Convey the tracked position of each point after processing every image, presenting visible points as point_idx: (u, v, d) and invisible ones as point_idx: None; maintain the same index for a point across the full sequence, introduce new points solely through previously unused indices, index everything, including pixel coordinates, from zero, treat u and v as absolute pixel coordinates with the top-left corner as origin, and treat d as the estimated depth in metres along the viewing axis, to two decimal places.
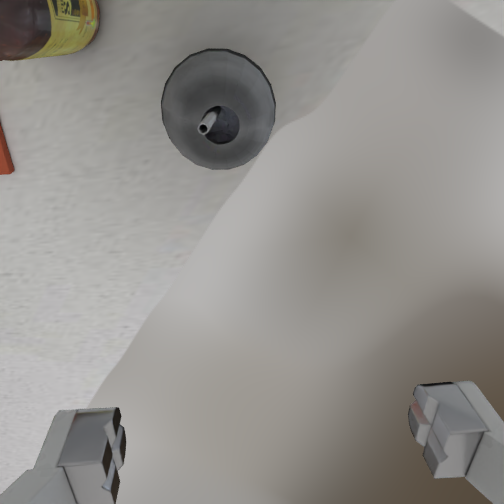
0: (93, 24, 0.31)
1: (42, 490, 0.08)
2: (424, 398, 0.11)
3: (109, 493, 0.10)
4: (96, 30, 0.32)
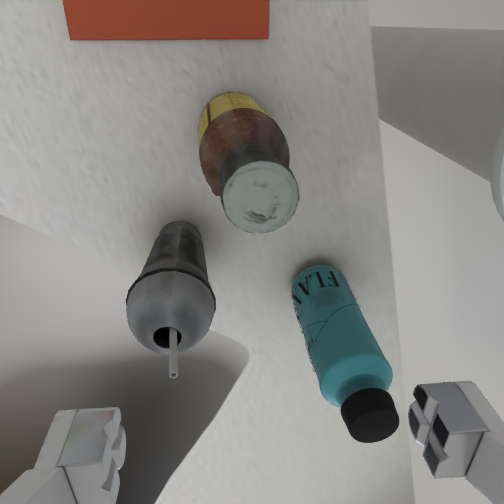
0: None
1: (41, 490, 0.08)
2: (424, 398, 0.11)
3: (109, 493, 0.10)
4: None
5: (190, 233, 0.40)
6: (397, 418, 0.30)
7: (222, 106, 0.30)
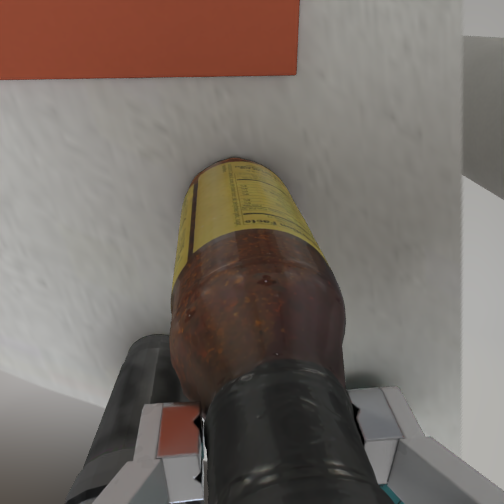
0: None
1: (146, 481, 0.09)
2: None
3: (201, 485, 0.10)
4: None
5: None
6: None
7: (216, 210, 0.16)
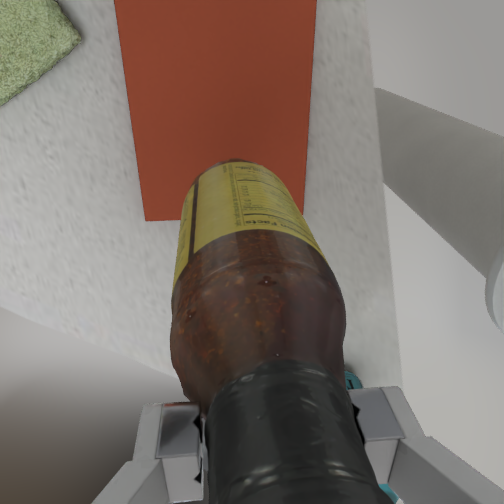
0: None
1: (146, 481, 0.09)
2: None
3: (200, 485, 0.10)
4: None
5: None
6: None
7: (217, 210, 0.16)
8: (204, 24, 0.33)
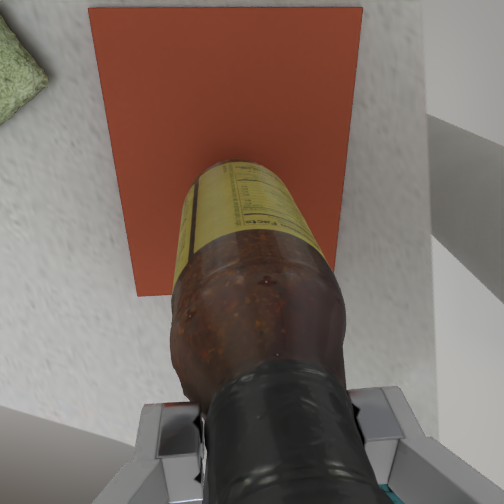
0: None
1: (146, 481, 0.09)
2: None
3: (200, 485, 0.10)
4: None
5: None
6: None
7: (217, 210, 0.16)
8: (212, 60, 0.25)
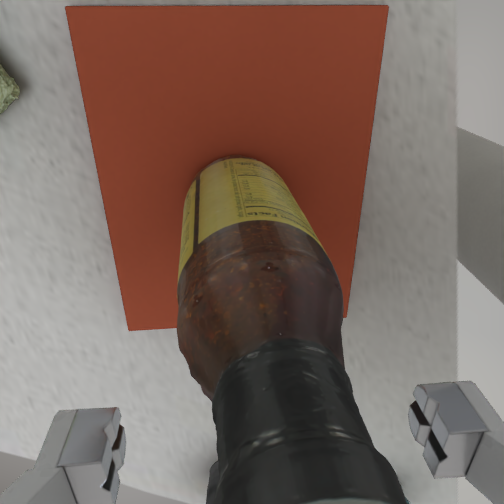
0: None
1: (42, 490, 0.08)
2: (424, 398, 0.11)
3: (109, 493, 0.10)
4: None
5: None
6: None
7: (219, 203, 0.17)
8: (212, 67, 0.21)
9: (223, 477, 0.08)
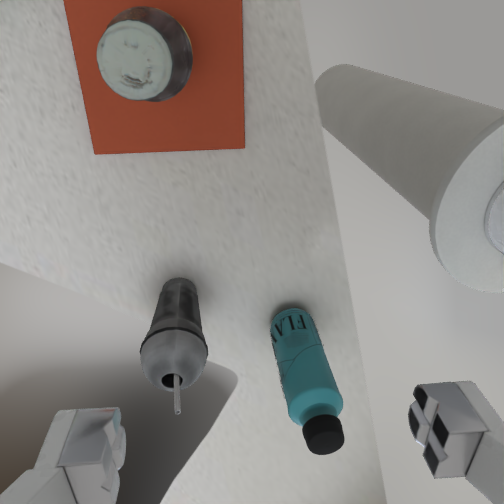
0: None
1: (42, 490, 0.08)
2: (424, 397, 0.11)
3: (109, 493, 0.10)
4: None
5: (187, 289, 0.51)
6: (342, 436, 0.41)
7: None
8: None
9: None
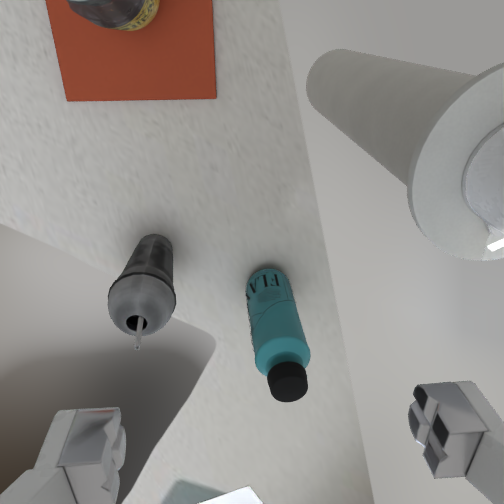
0: None
1: (42, 490, 0.08)
2: (424, 397, 0.11)
3: (109, 493, 0.10)
4: None
5: (161, 244, 0.51)
6: (305, 383, 0.41)
7: None
8: None
9: None
